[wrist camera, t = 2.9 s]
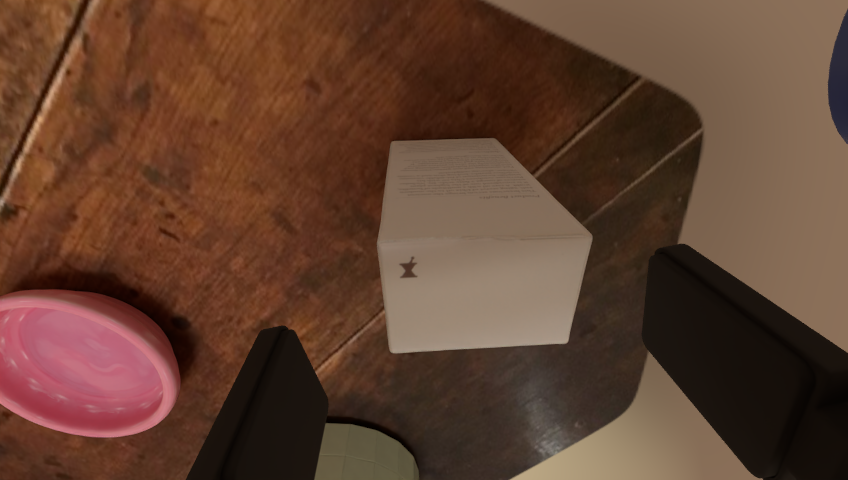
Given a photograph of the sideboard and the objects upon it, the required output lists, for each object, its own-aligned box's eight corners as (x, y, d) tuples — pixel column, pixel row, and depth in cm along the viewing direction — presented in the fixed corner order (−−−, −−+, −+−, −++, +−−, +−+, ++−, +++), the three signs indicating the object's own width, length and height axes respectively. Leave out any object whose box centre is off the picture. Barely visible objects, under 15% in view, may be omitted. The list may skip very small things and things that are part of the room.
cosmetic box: (394, 210, 22) (383, 357, 12) (390, 139, 20) (371, 238, 10) (494, 206, 22) (571, 349, 12) (499, 135, 20) (598, 230, 10)
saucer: (32, 393, 28) (-10, 431, 25) (-24, 255, 22) (-86, 285, 20) (202, 409, 30) (181, 447, 27) (190, 285, 24) (161, 316, 21)
